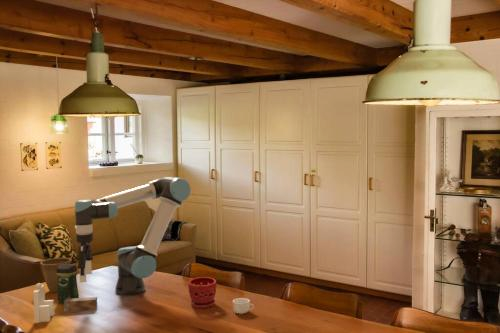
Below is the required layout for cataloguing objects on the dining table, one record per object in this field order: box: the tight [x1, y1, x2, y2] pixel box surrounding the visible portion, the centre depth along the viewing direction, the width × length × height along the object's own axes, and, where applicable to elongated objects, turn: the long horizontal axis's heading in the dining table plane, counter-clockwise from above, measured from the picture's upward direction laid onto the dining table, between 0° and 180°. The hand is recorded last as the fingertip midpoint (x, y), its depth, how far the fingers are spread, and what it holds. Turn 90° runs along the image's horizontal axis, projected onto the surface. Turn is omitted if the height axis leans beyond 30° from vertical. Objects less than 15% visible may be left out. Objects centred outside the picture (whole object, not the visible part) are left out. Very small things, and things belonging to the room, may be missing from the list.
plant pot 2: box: [188, 276, 217, 309], centre depth 240 cm, size 13×13×12 cm
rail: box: [63, 296, 98, 313], centre depth 238 cm, size 14×4×5 cm, turn 97°
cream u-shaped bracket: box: [32, 282, 55, 324], centre depth 227 cm, size 6×10×16 cm, turn 7°
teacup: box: [232, 297, 255, 315], centre depth 230 cm, size 10×8×5 cm
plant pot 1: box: [40, 257, 72, 294], centre depth 268 cm, size 15×15×16 cm
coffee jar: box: [56, 263, 80, 304], centre depth 251 cm, size 10×8×19 cm
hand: (86, 278), depth 238 cm, fingers open, 13 cm apart
